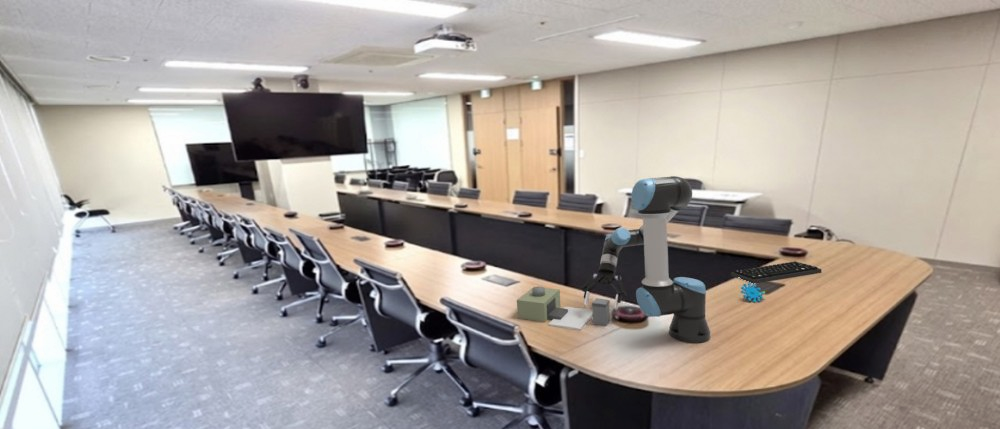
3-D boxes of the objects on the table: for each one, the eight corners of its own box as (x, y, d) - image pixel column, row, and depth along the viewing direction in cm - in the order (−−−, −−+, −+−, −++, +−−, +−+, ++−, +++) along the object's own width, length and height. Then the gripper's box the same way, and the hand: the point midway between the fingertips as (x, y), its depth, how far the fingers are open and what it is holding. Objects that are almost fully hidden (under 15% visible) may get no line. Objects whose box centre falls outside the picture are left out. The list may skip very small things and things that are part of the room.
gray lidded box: (610, 320, 187) (609, 299, 185) (606, 326, 182) (605, 304, 180) (596, 319, 190) (595, 298, 188) (592, 324, 185) (591, 302, 183)
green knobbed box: (595, 311, 199) (594, 287, 197) (580, 330, 179) (579, 303, 177) (535, 303, 215) (533, 281, 213) (515, 320, 195) (513, 296, 193)
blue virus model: (744, 300, 195) (739, 281, 201) (738, 305, 200) (734, 286, 206) (769, 302, 194) (763, 283, 200) (762, 307, 199) (756, 288, 205)
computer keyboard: (753, 284, 221) (753, 278, 220) (730, 276, 236) (730, 270, 235) (821, 273, 231) (821, 267, 230) (795, 266, 246) (795, 260, 245)
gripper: (636, 271, 193) (630, 314, 183) (584, 267, 205) (575, 307, 195) (633, 263, 188) (627, 307, 177) (580, 260, 200) (571, 300, 189)
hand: (600, 307), depth 186 cm, fingers open, 13 cm apart
